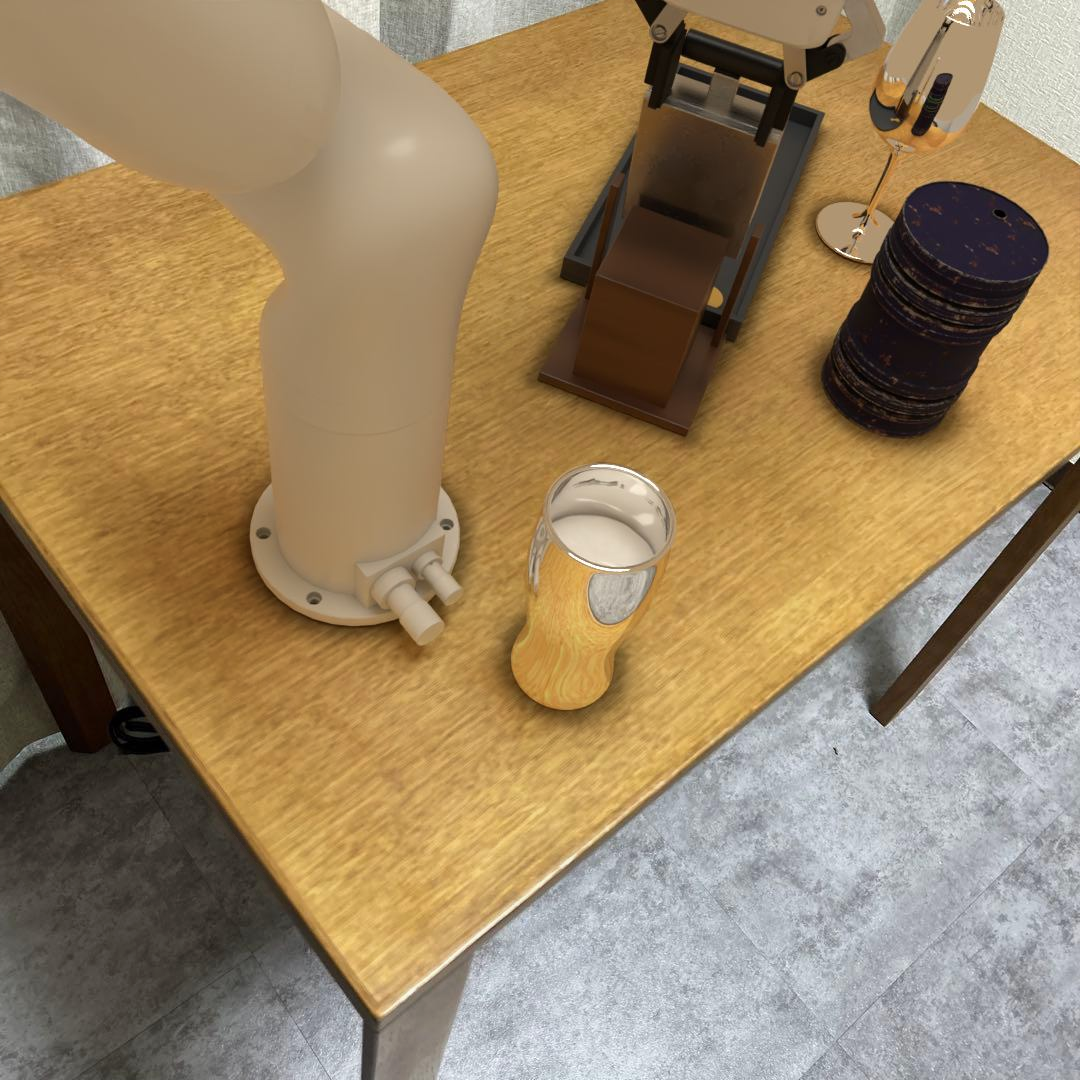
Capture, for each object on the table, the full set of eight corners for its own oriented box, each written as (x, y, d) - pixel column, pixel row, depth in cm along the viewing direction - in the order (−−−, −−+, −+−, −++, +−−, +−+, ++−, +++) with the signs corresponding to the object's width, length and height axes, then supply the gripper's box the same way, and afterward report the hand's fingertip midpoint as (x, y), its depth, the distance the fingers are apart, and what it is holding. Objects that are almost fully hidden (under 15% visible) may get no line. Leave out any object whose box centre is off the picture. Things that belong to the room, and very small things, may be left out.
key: (724, 315, 84) (726, 309, 84) (688, 313, 84) (690, 307, 83) (708, 256, 88) (710, 250, 87) (674, 254, 87) (676, 248, 87)
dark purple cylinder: (896, 461, 79) (996, 305, 66) (793, 376, 82) (870, 213, 70) (973, 400, 83) (1079, 244, 71) (872, 322, 87) (957, 161, 75)
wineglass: (899, 212, 95) (1012, -14, 79) (908, 273, 91) (1030, 46, 75) (811, 196, 95) (907, -35, 79) (815, 256, 90) (918, 24, 74)
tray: (734, 342, 83) (742, 322, 82) (559, 277, 85) (563, 256, 83) (817, 132, 101) (825, 112, 99) (671, 80, 102) (676, 60, 100)
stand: (686, 437, 77) (730, 321, 68) (537, 380, 78) (562, 259, 69) (724, 341, 83) (770, 224, 74) (586, 289, 84) (614, 168, 75)
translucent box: (790, 107, 63) (809, 62, 65) (650, 58, 64) (671, 14, 66) (736, 260, 77) (752, 220, 78) (620, 218, 78) (638, 179, 79)
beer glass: (609, 731, 63) (671, 591, 51) (491, 701, 63) (525, 554, 51) (628, 629, 67) (689, 477, 55) (516, 601, 67) (554, 443, 55)
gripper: (616, -252, 50) (556, 100, 65) (982, -135, 49) (836, 199, 63) (663, -302, 55) (597, 39, 69) (1001, -196, 53) (860, 130, 68)
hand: (712, 113), depth 66 cm, fingers closed on translucent box, 6 cm apart
